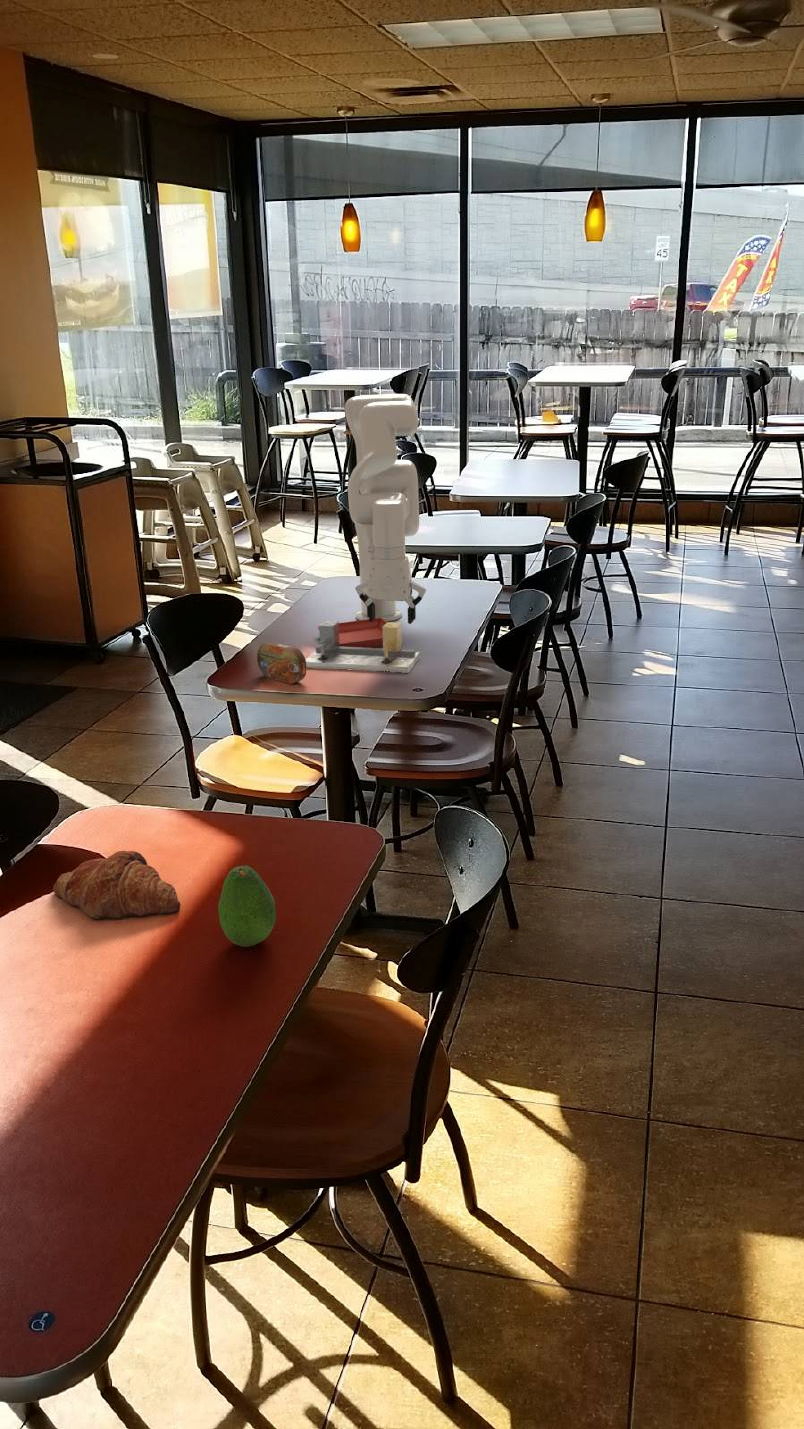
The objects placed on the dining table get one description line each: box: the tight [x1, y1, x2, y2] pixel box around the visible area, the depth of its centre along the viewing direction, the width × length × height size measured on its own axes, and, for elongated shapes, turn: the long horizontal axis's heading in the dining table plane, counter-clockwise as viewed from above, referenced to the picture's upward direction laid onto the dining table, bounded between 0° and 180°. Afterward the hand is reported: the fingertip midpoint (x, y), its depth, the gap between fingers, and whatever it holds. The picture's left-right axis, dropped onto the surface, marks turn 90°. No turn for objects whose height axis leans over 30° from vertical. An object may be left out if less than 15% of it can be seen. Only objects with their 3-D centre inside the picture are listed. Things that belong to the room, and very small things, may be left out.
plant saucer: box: [316, 618, 388, 648], centre depth 296 cm, size 18×18×3 cm
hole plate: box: [305, 620, 421, 674], centre depth 277 cm, size 12×26×9 cm, turn 76°
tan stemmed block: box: [382, 621, 403, 661], centre depth 276 cm, size 9×4×7 cm, turn 166°
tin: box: [256, 642, 307, 685], centre depth 267 cm, size 15×3×8 cm, turn 47°
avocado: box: [217, 864, 277, 948], centre depth 158 cm, size 8×8×12 cm
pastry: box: [52, 850, 181, 921], centre depth 171 cm, size 17×15×8 cm
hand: (391, 621), depth 277 cm, fingers open, 9 cm apart
